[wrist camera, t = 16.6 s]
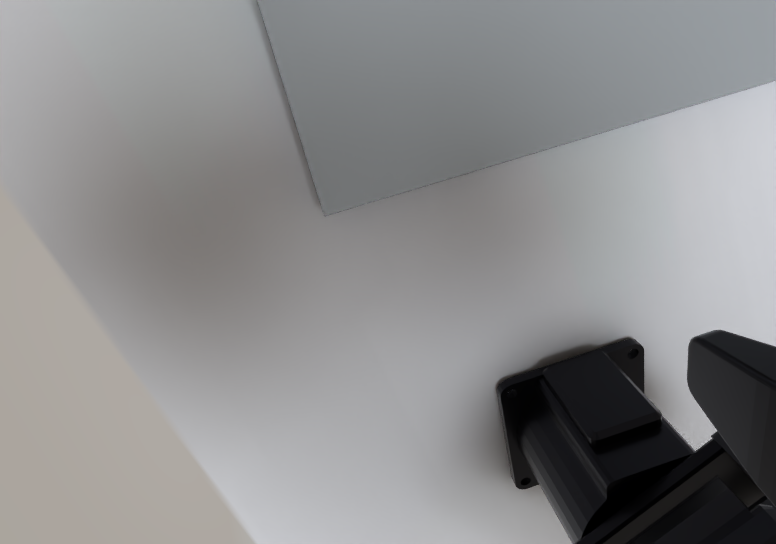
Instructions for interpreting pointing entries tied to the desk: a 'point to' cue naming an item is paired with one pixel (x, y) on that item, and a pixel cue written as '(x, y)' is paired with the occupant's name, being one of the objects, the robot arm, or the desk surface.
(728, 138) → the desk surface
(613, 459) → the robot arm
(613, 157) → the desk surface
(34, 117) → the desk surface
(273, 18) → the jig
